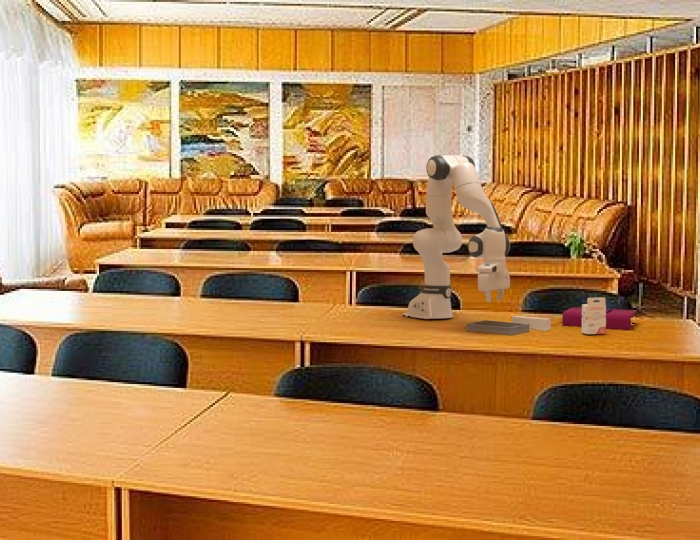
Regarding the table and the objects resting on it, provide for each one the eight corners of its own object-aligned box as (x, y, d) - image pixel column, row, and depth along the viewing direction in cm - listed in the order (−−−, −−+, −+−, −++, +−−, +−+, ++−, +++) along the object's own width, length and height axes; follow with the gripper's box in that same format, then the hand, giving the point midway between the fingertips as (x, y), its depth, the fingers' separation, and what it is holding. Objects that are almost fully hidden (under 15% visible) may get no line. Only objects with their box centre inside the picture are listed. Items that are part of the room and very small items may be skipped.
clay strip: (511, 328, 446) (511, 316, 445) (515, 327, 449) (515, 315, 449) (546, 331, 436) (546, 319, 436) (550, 330, 440) (550, 318, 439)
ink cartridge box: (599, 332, 434) (600, 296, 432) (605, 333, 429) (606, 297, 428) (580, 332, 431) (581, 296, 430) (586, 334, 426) (587, 297, 425)
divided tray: (466, 330, 435) (466, 323, 435) (484, 327, 447) (484, 320, 447) (511, 335, 422) (511, 327, 422) (529, 331, 434) (529, 324, 434)
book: (629, 332, 437) (630, 313, 436) (561, 328, 448) (562, 310, 447) (636, 326, 456) (637, 308, 456) (571, 322, 467) (571, 305, 466)
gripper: (500, 265, 440) (500, 298, 441) (474, 268, 424) (474, 302, 425) (514, 266, 436) (513, 299, 437) (488, 268, 420) (488, 303, 421)
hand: (494, 301), depth 431 cm, fingers open, 7 cm apart
